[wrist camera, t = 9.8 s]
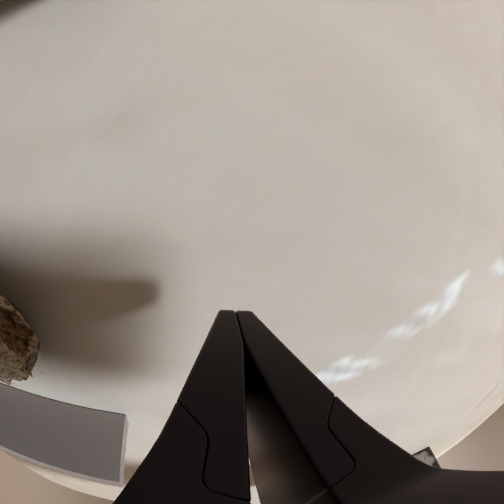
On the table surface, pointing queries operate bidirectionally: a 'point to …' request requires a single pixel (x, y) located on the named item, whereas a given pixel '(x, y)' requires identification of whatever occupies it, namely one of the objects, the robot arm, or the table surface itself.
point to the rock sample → (15, 344)
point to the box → (63, 436)
